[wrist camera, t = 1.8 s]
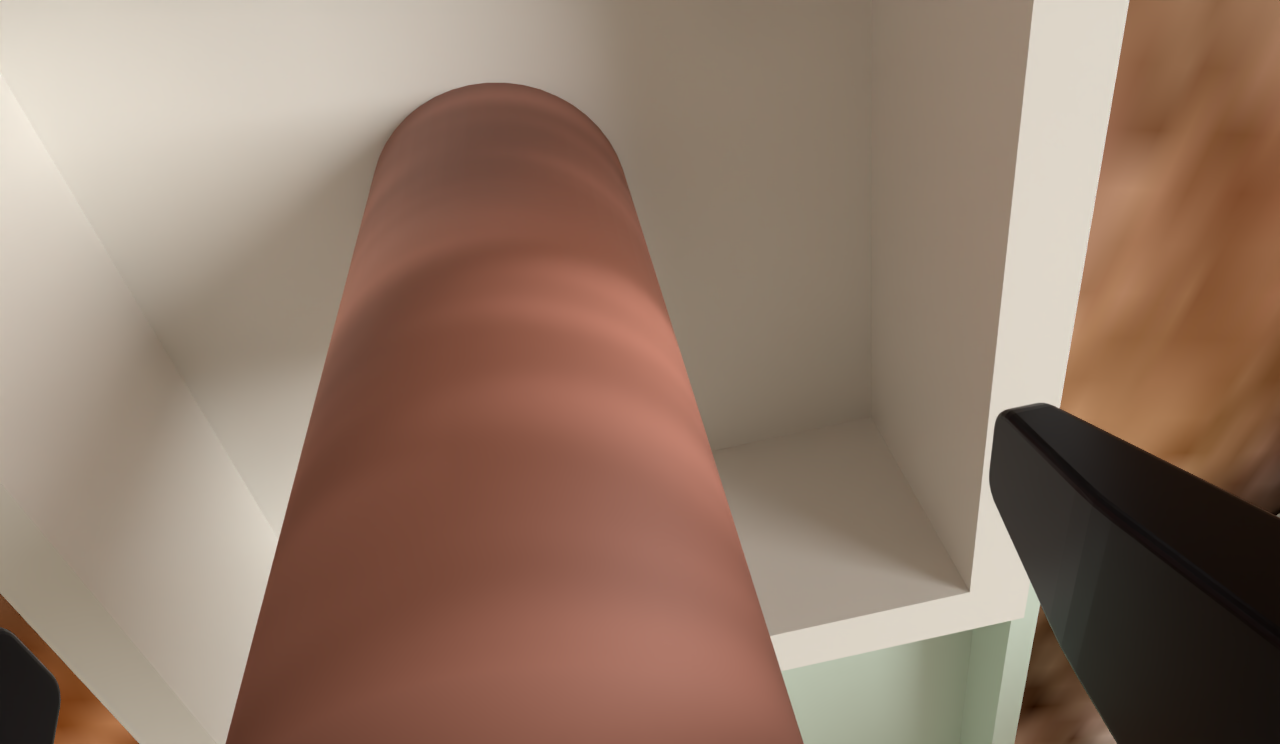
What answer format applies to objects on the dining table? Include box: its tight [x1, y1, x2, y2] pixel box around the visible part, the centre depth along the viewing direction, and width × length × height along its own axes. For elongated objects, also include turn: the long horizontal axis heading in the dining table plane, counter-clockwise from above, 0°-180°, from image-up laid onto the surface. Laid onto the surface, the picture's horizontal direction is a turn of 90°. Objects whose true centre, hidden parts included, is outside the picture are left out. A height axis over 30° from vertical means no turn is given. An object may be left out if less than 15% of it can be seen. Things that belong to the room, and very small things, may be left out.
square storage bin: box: [0, 0, 1129, 744], centre depth 12 cm, size 14×14×5 cm
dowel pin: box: [226, 83, 804, 744], centre depth 10 cm, size 4×4×10 cm
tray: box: [781, 582, 1040, 744], centre depth 22 cm, size 14×12×2 cm
